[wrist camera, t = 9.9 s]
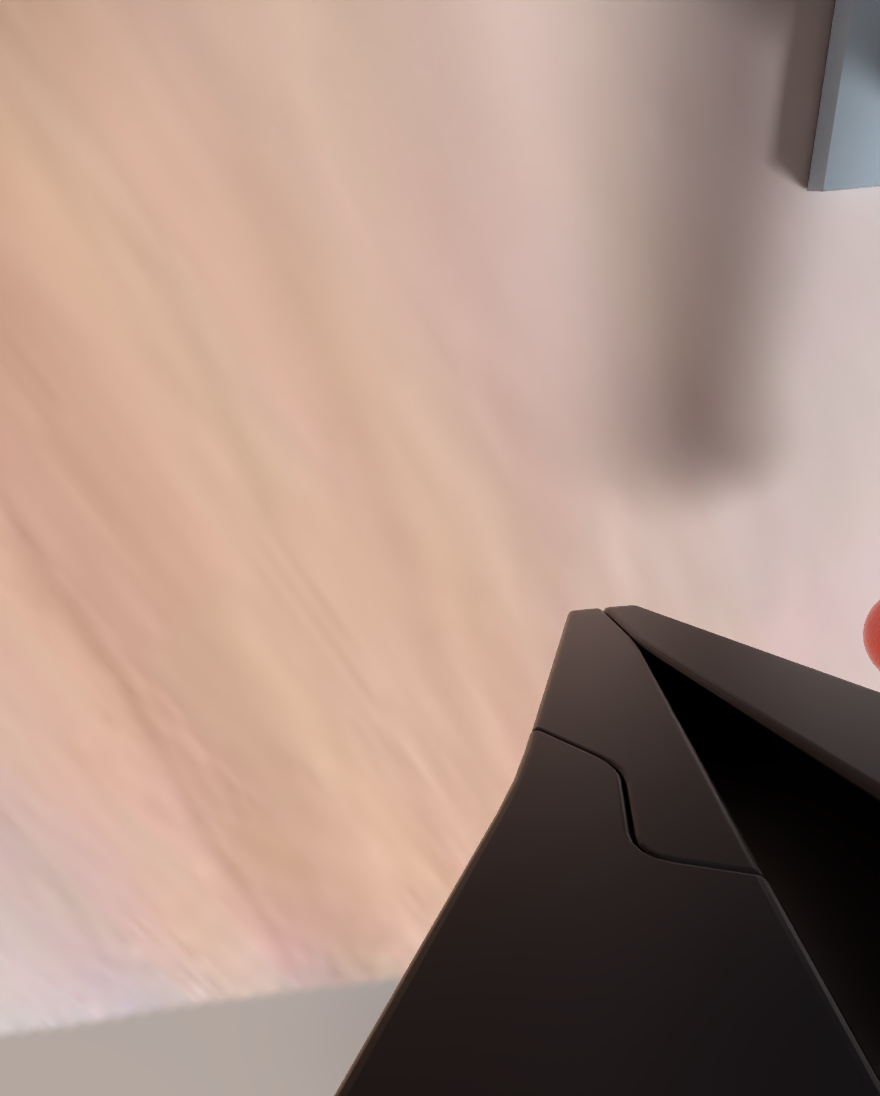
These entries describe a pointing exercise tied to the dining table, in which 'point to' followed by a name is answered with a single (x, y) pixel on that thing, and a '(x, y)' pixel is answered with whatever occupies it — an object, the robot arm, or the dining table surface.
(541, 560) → the dining table surface
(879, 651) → the lock handle
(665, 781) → the robot arm
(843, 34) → the vise bed
